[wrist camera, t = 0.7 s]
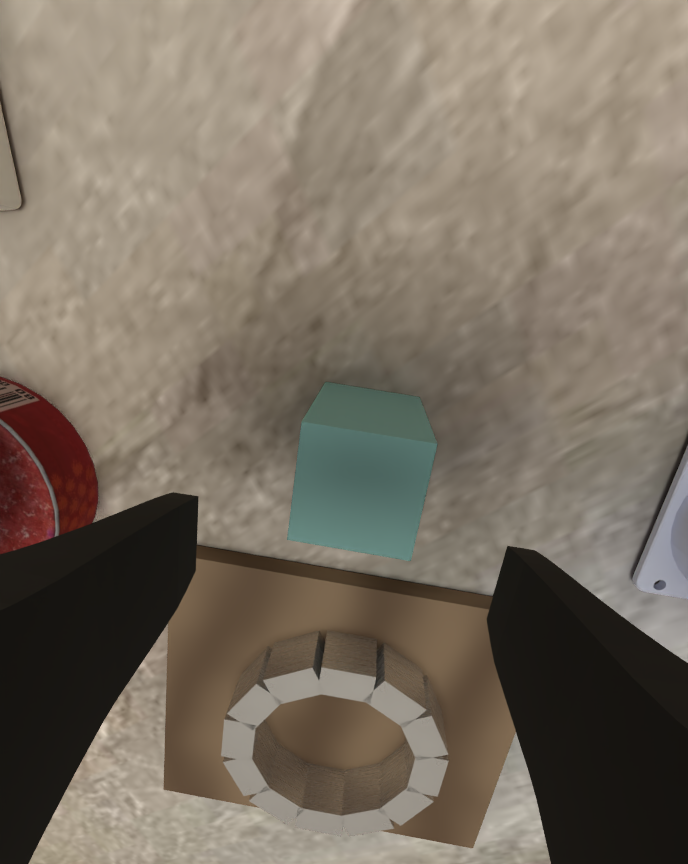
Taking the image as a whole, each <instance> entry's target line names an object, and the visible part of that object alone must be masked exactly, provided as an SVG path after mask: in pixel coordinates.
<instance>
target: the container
mask: <svg viewBox="0 0 688 864" xmlns="http://www.w3.org/2000/svg"><path fill="white" fill-rule="evenodd" d="M20 206H21V195H20V190H19V186H18V181H17V177H16V172H15V168H14V163H13V158H12V154H11V149H10V145H9V140H8V135H7V131H6V126H5V122H4V117H3V113H2V108H1V103H0V211H2V210H15V209H18V208H19V207H20Z"/></svg>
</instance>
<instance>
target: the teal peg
mask: <svg viewBox="0 0 688 864" xmlns="http://www.w3.org/2000/svg"><path fill="white" fill-rule="evenodd" d="M436 448H437V441H436V439H435V436H434V434H433V431H432V428H431V426H430V423H429V420H428V418H427V415H426V413H425V410H424V407H423V405H422V402H421V399H420V397H416V396H410V395H404V394H398V393H392V392H386V391H379V390H373V389H367V388H361V387H355V386H349V385H342V384H336V383H330V382H325V383H324V385H323V387H322V388H321V390H320V392H319V393H318V395H317V397H316V398H315V400H314V402H313V403H312V405H311V407H310V408H309V410H308V412H307V414H306V415H305V417H304V419H303V420H302V423H301V431H300V439H299V447H298V455H297V463H296V472H295V480H294V488H293V496H292V504H291V512H290V520H289V528H288V537H287V540H292V541H297V542H303V543H309V544H315V545H321V546H326V547H332V548H338V549H344V550H350V551H355V552H361V553H367V554H373V555H378V556H384V557H390V558H396V559H402V560H407V561H411V558H412V553H413V549H414V545H415V540H416V536H417V531H418V527H419V523H420V518H421V514H422V510H423V505H424V501H425V496H426V492H427V488H428V483H429V479H430V475H431V470H432V466H433V461H434V457H435V453H436Z"/></svg>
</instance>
